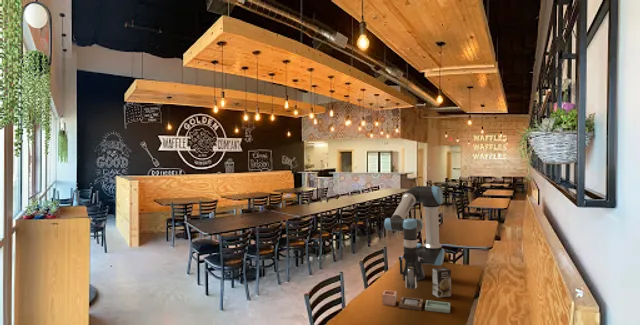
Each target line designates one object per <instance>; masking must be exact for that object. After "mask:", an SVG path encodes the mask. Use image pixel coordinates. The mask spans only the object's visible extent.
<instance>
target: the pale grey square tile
mask: <svg viewBox="0 0 640 325" xmlns="http://www.w3.org/2000/svg"><path fill="white" fill-rule="evenodd" d="M404 304H408V305H417V304H418V300H410V299H405V302H404Z"/></svg>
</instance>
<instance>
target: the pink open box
mask: <svg viewBox="0 0 640 325" xmlns="http://www.w3.org/2000/svg"><path fill="white" fill-rule="evenodd" d="M397 294H398V293H397V291H395V290H386V289H385V290H384V291H383V292H382V295H381V296H382V305H383V306H390V307H396V306H397V305H396V304H397V302H398V301H397V300H398V299H397V298H398V295H397Z"/></svg>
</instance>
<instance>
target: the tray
mask: <svg viewBox="0 0 640 325" xmlns="http://www.w3.org/2000/svg"><path fill="white" fill-rule="evenodd" d="M424 311H429V312H435V313H437V312H438V313H444V314H451V302H446V301H438V300H431V299H429V300H428V299H425V305H424Z"/></svg>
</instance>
